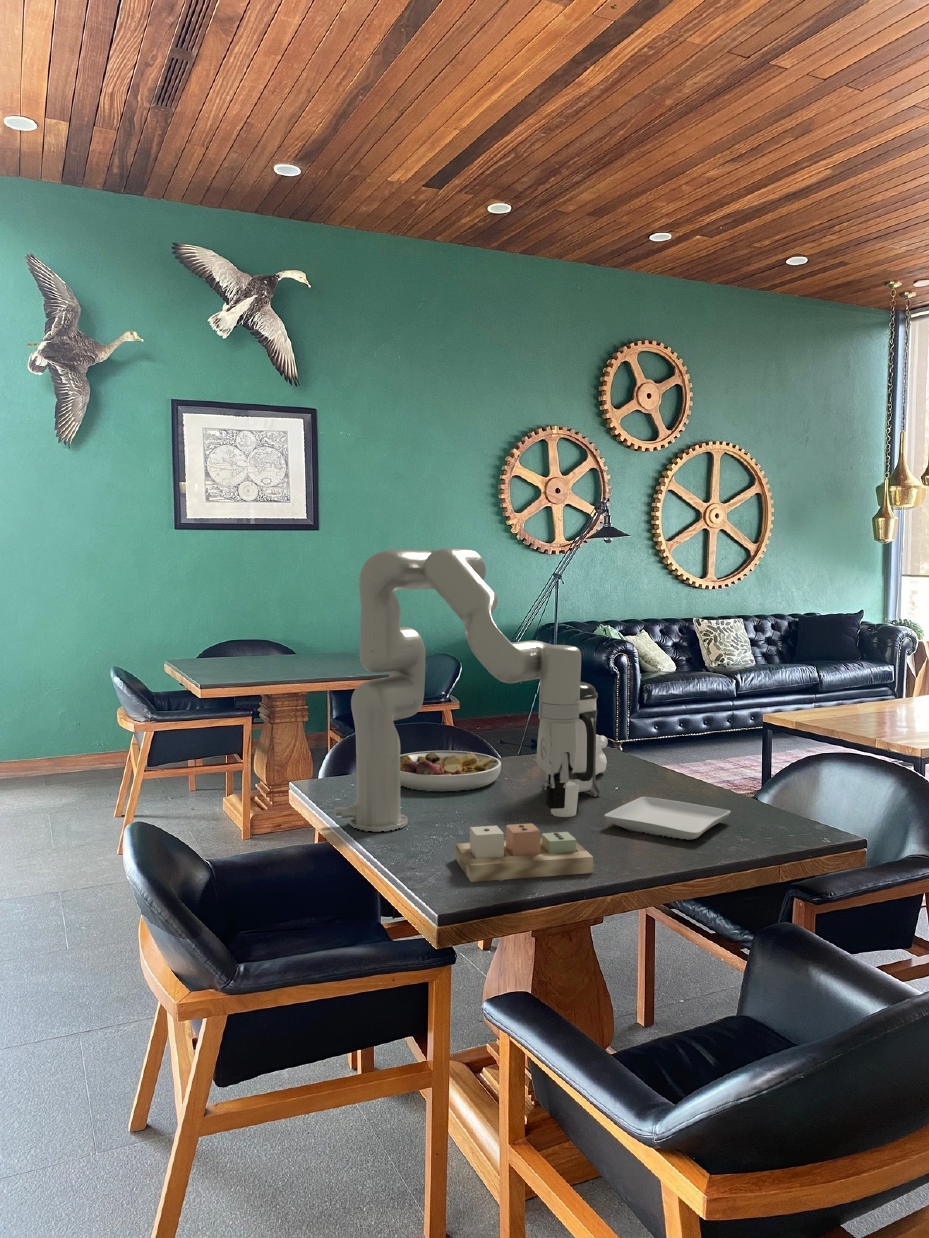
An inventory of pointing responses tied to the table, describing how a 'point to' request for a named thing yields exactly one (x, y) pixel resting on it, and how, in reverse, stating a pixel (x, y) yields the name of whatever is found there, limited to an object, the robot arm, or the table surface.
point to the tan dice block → (523, 839)
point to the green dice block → (558, 842)
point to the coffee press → (585, 741)
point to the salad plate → (666, 817)
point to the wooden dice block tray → (523, 864)
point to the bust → (600, 754)
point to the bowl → (447, 770)
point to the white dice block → (486, 842)
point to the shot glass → (568, 801)
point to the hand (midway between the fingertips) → (555, 807)
